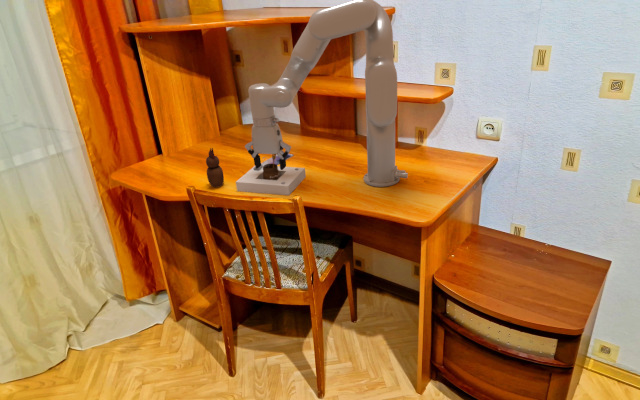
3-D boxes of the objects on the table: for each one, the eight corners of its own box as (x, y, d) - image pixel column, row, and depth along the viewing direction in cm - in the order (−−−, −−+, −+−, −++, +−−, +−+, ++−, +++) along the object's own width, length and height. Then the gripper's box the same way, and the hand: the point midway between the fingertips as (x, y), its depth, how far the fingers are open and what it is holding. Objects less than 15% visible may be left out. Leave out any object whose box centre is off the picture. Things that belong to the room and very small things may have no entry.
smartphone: (294, 154, 189) (272, 167, 178) (294, 156, 189) (272, 169, 178) (280, 152, 192) (258, 164, 181) (280, 153, 193) (258, 166, 182)
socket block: (305, 176, 168) (304, 166, 166) (289, 195, 154) (287, 183, 152) (257, 173, 174) (255, 162, 172) (237, 190, 161) (235, 179, 159)
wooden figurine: (226, 187, 164) (218, 148, 158) (209, 190, 163) (202, 151, 156) (224, 180, 170) (217, 142, 164) (208, 183, 169) (200, 145, 162)
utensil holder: (260, 185, 164) (256, 154, 158) (272, 179, 168) (268, 148, 163) (272, 188, 160) (268, 157, 155) (284, 182, 165) (280, 151, 159)
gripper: (291, 118, 154) (297, 165, 162) (246, 117, 160) (253, 162, 168) (283, 125, 148) (288, 173, 156) (236, 124, 154) (244, 170, 161)
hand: (270, 167), depth 162 cm, fingers open, 9 cm apart
